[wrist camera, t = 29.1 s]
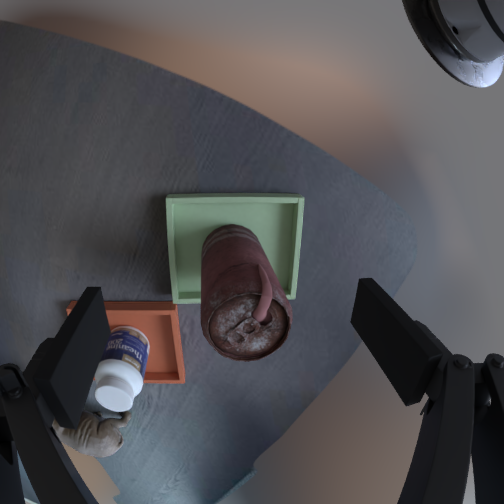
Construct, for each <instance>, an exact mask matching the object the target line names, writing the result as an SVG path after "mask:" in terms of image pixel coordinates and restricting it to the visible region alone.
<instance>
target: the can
mask: <svg viewBox="0 0 504 504" xmlns="http://www.w3.org/2000/svg"><path fill="white" fill-rule="evenodd" d="M291 323H292V308H291V305H290V303H289V301H288V299H287V297H286V295H285V293H284V291H283V289H282V287H281V284H280V282H279V280H278V278H277V276H276V274H275V272H274V270H273V268H272V266H271V264H270V262H269V260H268V258H267V256H266V254H265V252H264V250H263V248H262V246H261V244H260V242H259V240H258V238H257V236H256V235H255V234H254V233H253V232H252V231H251V230H250V229H248V228H246V227H244V226H241V225H235V224H230V225H223V226H221V227H219V228H217V229H215V230H213V231H212V232H211V233H210V234H209V235H208V236H207V238H206V239H205V241H204V243H203V246H202V253H201V327H202V331H203V335H204V336H205V338H206V339H207V341H208V342H209V344H210V345H211V346H212V347H213V348H214V350H215V351H216V352H218V353H219V354H221V355H222V356H223V357H226V358H228V359H231V360H234V361H244V362H249V361H255V360H260V359H262V358H265V357H267V356H269V355H271V354H273V353H274V352H275V351H277V350H278V349H279V348H280V347H281V346H282V345H283V343H284V342H285V341H286V339H287V338H288V335H289V332H290V329H291Z"/></svg>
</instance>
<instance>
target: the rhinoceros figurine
mask: <svg viewBox="0 0 504 504" xmlns="http://www.w3.org/2000/svg"><path fill="white" fill-rule="evenodd" d="M98 415H100V416H99V417H98ZM120 415H121V417H122V418H121V419H115V418H103V417H102V413H100V412H98V413H97V414H96V413H94V414H92V413H91V412H88V411H86V410H84V409H83V411H82V414H81V417H80V421H79V424H78V427H77V430H74V429H68V428H62V427H60V426H59V424H58V423H57V421H56V419H54V421H53V424H52V426H53V428H54V429H55V431H56V433H57V435H58V437H59V439H60V441H61V442H63V443H64V444H66V445H68V446H70V447H72V448H73V449H75V450H76V451H78V452H80V453H82V454H86V455H90V456H95V457H107V456H110V455H112V454H114V453H115V452H116V451H117V450H118V449H119V448H120V447H121V446H122V444H123V437H122V434H121V432H120V431H119V428H121V427H125V426H126V425H127V423H128V421H129V420H130V419H131V413H130V412H129V411H123V412H121V414H120Z"/></svg>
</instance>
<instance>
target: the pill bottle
mask: <svg viewBox="0 0 504 504" xmlns="http://www.w3.org/2000/svg"><path fill="white" fill-rule="evenodd" d="M149 349H150V345H149V341H148V339H147V337H146V336H145V335H144V334H143V333H142V332H141V331H140V330H138V329H136V328H134V327H131V326H119V327H116V328H114V329H113V330H112V331H111V334H110V336H109V339H108V342H107V344H106V347H105V349H104V352H103V354H102V357H101V360H100V362H99V365H98V368H97V370H96V373H95V380H96V383H97V387H96V391H95V397H96V399H97V401H98V402H99V403H100V404H101V405H102V406H103V407H105V408H107V409H109V410H112V411H117V412H123V411H127V410H129V409H130V408H131V407H132V404H133V400H134V397H135V396H136V395H138V394H139V393H140V391H141V389H142V386H143V381H144V375H145V370H146V365H147V360H148V355H149Z"/></svg>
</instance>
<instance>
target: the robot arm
mask: <svg viewBox="0 0 504 504" xmlns="http://www.w3.org/2000/svg"><path fill="white" fill-rule="evenodd" d="M426 1H427V6H428V9H429V12H430V15H431V18H432V20H433V22H434V24H435V26H436V28H437V29H438V31H439V33H440V34H441V36H442V37H443V39H444V40H445V41H446V43H447V44H448V45H449V46H450V47H451V48H452V49H453V50H454V51H455V52H456V53H457V54H458V55H459V56H460V57H462V58H463V59H465V60H467V61H469V62H471V63H475V64H482V63H488V62H491V61H493V60H495V59H496V58H498V57H500V56H502V55H503V54H504V0H426ZM351 324H352V325H353V327H354V328H355V330H356V331H357V333H358V334H359V336H360V337H361V339H362V340H363V342H364V343H365V345H366V346H367V347H368V349H369V350H370V352H371V353H372V355H373V356H374V358H375V359H376V361H377V362H378V364H379V366H380V367H381V369H382V370H383V372H384V373H385V374H386V376H387V378H388V379H389V381H390V382H391V384H392V385H393V387H394V388H395V390H396V392H397V393H398V395H399V396H400V398H401V399H402V401H403V402H404V404H405V405H406V406H409V405H412V404H415V403H418V402H420V401H421V399H422V397H423V395H424V393H426V394H427V395H428V397H429V399H428V400H427V402H426V404H425V406H424V408H423V409H422V411H421V413H420V415H422V414H423V412H424V415H423V420H422V425H421V429H420V433H419V437H418V441H417V445H416V448H415V452H414V455H413V459H412V462H411V465H410V468H409V472H408V475H407V478H406V481H405V484H404V487H403V489H402V492H401V495H400V498H399V500H398V503H397V504H462V503H463V499H464V493H465V489H466V483H467V477H468V471H469V464H470V456H472V463H473V473H474V484H475V499H476V504H504V358H503V356H501V355H499V354H494V353H493V354H489V355H487V357H486V359H485V361H484V363H473V362H472V361H471V360H470V359H469V358H468V357H466V356H463V355H460V354H454V355H452V353H451V352H450V351H449V350H448V349H447V348H446V347H445V346H444V345H443V343H442V342H441V341H440V340H439V339H438V338H436V336H435V335H434V334H433V333H432V332H431V331H430V330H429V329H428V328H427V327H426V326H425V325H424V324H422V323H420V322H419V321H417V320H416V321H413V320H412V319H411V318H410V317H409V316H408V314H406V312H405V311H404V310H403V309H402V308H401V307H400V306H399V305H398V304H397V303H396V302H395V301H394V300H393V299H392V298H391V297H390V296H389V295H388V294H387V293H386V292H385V291H384V290H383V289H382V288H381V287H380V286H379V285H378V284H377V283H376V282H375V281H374V280H373V279H372V278H361V279H359V282H358V288H357V293H356V298H355V303H354V308H353V312H352V317H351ZM110 334H111V330H110V326H109V322H108V318H107V314H106V309H105V305H104V300H103V296H102V291H101V287H87V288H86V289H85V291H84V292H83V294H82V295H81V297H80V298H79V300H78V301H77V303H76V304H75V306H74V308H73V309H72V311H71V312H70V314H69V315H68V317H67V319H66V320H65V322H64V323H63V325H62V327H61V328H60V330H59V332H58V333H57V335H56V336H55V338H47V339H46V340H45V341H44V342H42V343H41V344H40V345H39V347H38V349H37V350H36V353H35V354H34V355H33V357H32V360H30V362H29V364H28V365H27V367H26V369H25V371H24V372H23V374H22V372H21V370H20V368H19V367H18V366H17V365H15V364H10V363H8V364H4V365H2V366H0V504H25V500H24V495H23V490H22V484H21V478H20V472H19V465H18V457H17V451H18V453H19V456H20V459H21V461H22V464H23V466H24V469H25V471H26V473H27V476H28V478H29V480H30V482H31V485H32V487H33V489H34V491H35V493H36V495H37V497H38V499H39V501H40V503H41V504H99V503H98V502H97V501H96V499H95V498H94V496H93V495H92V493H91V492H90V490H89V489H88V487H87V486H86V484H85V483H84V481H83V480H82V478H81V476H80V475H79V473H78V471H77V470H76V468H75V467H74V465H73V463H72V461H71V459H70V458H69V456H68V454H67V452H66V450H65V449H64V447H63V445H62V443H61V441H60V439H59V437H58V435H57V433H56V431H55V429H54V428H53V426H52V424H53V421H54V419H56V421H57V423H58V424H59V426H60V427H62V428H68V429H74V430H77V427H78V424H79V421H80V417H81V414H82V411H83V408H84V405H85V402H86V399H87V396H88V393H89V390H90V387H91V384H92V382H93V379H94V376H95V373H96V370H97V368H98V365H99V362H100V360H101V357H102V354H103V352H104V349H105V347H106V344H107V342H108V339H109V336H110ZM490 399H491V405H490V401H489V400H490Z"/></svg>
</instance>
